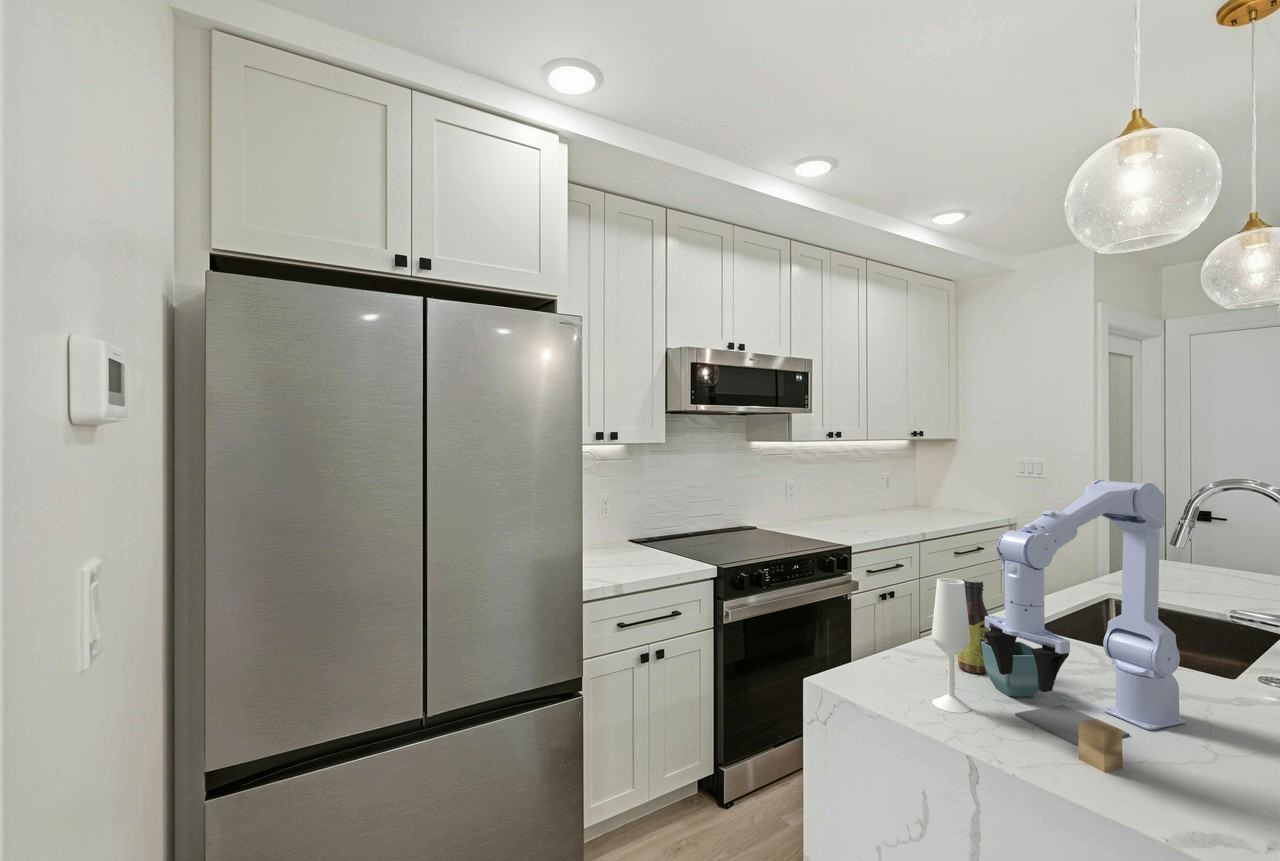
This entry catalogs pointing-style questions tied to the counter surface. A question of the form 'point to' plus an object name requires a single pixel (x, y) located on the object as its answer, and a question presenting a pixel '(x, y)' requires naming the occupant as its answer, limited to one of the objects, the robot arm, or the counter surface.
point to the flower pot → (1013, 671)
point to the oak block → (1100, 745)
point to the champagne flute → (951, 634)
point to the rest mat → (1058, 721)
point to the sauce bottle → (974, 628)
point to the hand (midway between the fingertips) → (1024, 681)
